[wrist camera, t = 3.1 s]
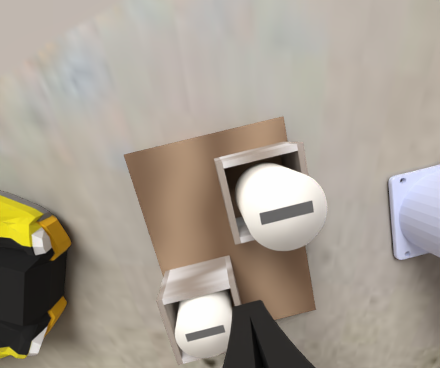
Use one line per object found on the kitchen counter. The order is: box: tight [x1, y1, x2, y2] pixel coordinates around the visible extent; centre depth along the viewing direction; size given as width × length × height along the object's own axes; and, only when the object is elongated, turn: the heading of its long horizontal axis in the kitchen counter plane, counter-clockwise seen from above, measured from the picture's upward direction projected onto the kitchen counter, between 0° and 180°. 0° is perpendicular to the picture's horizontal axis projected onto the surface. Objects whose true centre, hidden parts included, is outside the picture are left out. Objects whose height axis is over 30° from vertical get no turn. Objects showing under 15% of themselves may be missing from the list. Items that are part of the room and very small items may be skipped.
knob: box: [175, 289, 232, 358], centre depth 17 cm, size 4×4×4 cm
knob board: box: [124, 117, 316, 365], centre depth 17 cm, size 12×17×5 cm
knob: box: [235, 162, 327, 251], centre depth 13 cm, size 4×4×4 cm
